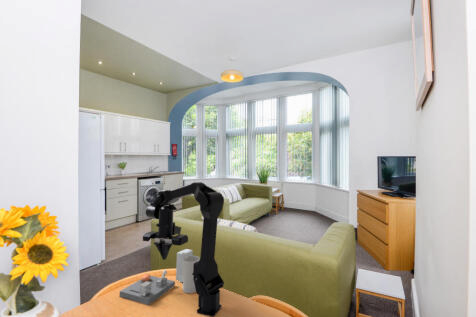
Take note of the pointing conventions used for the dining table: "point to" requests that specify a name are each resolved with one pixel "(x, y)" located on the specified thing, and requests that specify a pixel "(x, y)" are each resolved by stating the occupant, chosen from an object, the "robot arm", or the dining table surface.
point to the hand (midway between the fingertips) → (164, 259)
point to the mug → (189, 273)
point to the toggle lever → (163, 276)
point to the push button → (145, 278)
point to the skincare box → (181, 263)
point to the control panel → (156, 291)
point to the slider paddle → (145, 288)
